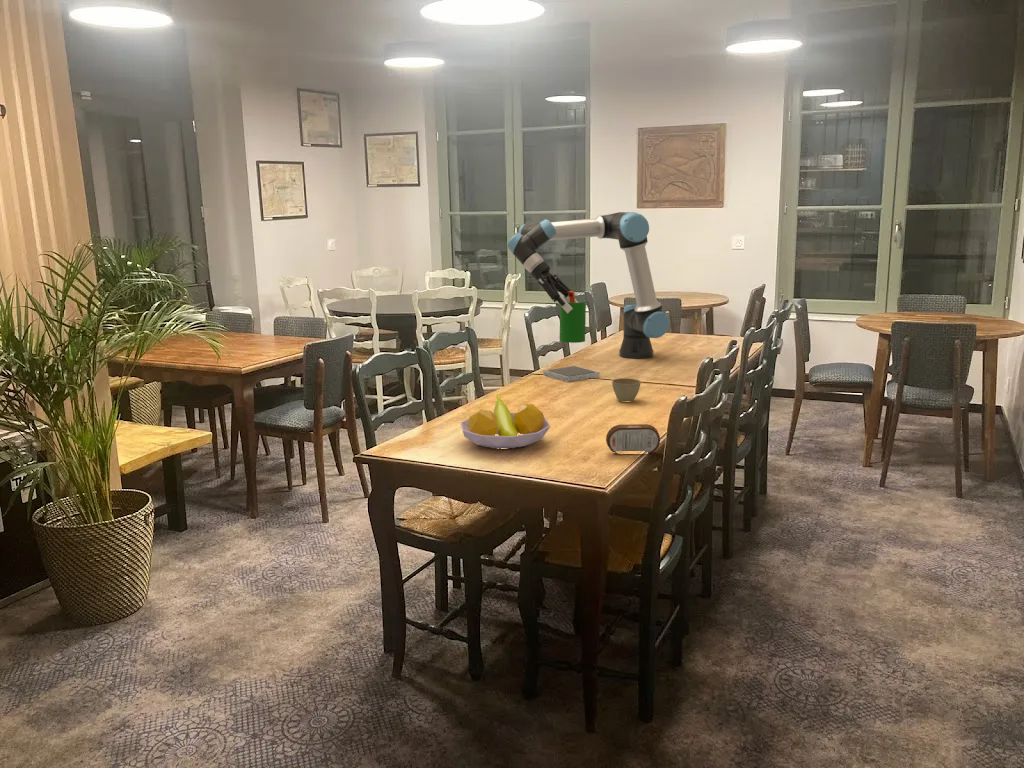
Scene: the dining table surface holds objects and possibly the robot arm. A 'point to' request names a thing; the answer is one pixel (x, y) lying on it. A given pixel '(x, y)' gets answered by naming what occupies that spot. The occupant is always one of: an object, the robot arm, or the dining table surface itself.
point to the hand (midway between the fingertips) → (574, 309)
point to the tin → (633, 438)
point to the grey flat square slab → (571, 373)
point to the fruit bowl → (506, 426)
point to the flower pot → (626, 388)
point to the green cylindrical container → (573, 321)
